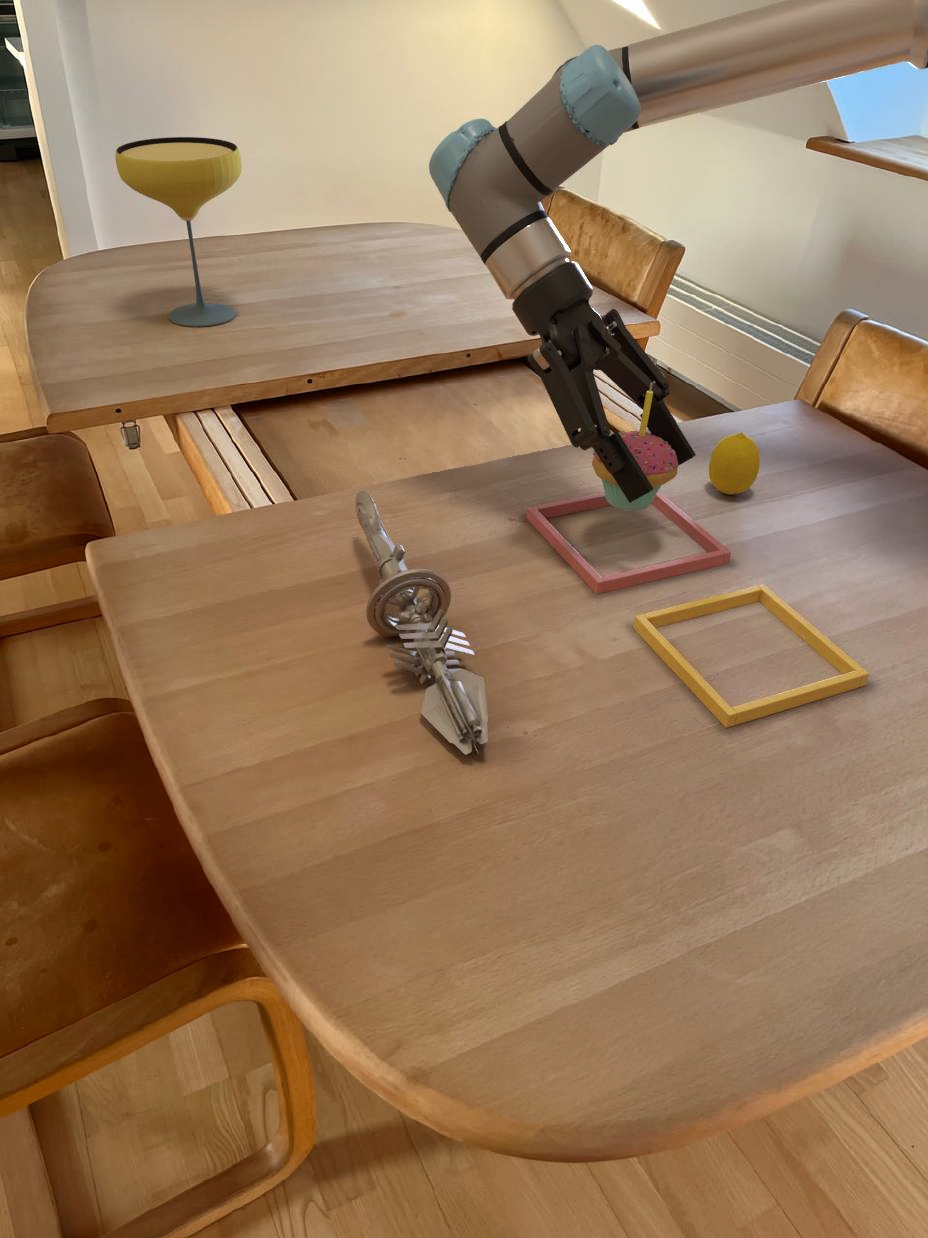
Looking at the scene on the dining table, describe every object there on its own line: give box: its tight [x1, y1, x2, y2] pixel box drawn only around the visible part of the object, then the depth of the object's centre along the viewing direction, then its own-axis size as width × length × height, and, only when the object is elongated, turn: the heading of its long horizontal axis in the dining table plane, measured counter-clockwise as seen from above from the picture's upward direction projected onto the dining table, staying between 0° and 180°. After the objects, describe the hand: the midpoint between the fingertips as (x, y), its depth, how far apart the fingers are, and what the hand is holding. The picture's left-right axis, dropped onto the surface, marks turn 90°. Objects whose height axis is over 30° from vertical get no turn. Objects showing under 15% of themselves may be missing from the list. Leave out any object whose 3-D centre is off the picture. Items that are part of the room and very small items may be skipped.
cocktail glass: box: [114, 136, 242, 328], centre depth 146 cm, size 18×18×25 cm
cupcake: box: [591, 383, 679, 512], centre depth 93 cm, size 9×8×12 cm
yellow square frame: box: [632, 583, 870, 728], centre depth 84 cm, size 15×15×2 cm
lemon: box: [708, 431, 761, 496], centre depth 107 cm, size 6×6×8 cm
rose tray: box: [526, 490, 732, 595], centre depth 99 cm, size 16×16×2 cm
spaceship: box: [354, 490, 489, 756], centre depth 84 cm, size 8×35×8 cm
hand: (663, 478), depth 93 cm, fingers closed on cupcake, 8 cm apart
